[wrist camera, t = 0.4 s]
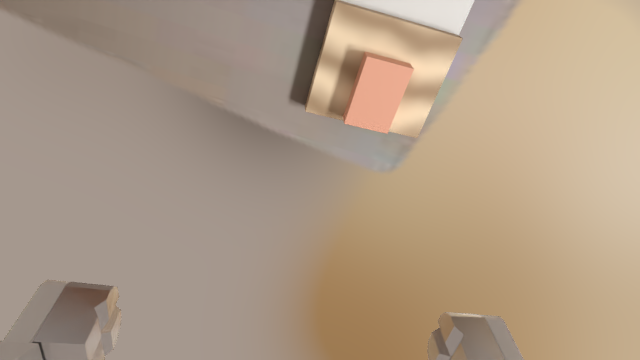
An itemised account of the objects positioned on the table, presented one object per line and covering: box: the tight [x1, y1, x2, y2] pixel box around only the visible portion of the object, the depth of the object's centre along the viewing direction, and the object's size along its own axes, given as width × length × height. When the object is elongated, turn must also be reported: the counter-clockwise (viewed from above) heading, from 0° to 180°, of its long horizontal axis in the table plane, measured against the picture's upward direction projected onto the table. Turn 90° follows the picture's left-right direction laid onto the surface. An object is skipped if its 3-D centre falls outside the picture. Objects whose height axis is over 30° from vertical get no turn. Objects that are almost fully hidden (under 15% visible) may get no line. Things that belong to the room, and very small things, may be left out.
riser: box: [305, 0, 462, 138], centre depth 54 cm, size 14×16×2 cm
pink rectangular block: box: [343, 51, 414, 134], centre depth 53 cm, size 9×6×2 cm, turn 164°
